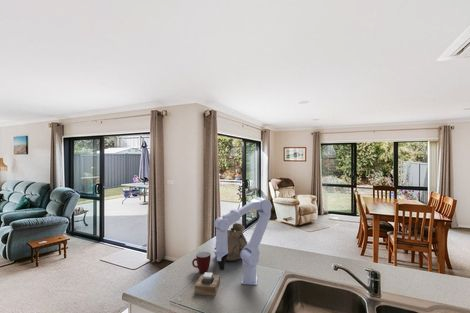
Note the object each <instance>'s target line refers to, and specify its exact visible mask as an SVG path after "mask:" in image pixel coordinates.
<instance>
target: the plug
mask: <svg viewBox="0 0 470 313" xmlns="http://www.w3.org/2000/svg"><path fill="white" fill-rule="evenodd" d="M213 275H214V274H213V272H208V271H207V272H205V273H204V274H203V283H207V284H212V283H213Z"/></svg>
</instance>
